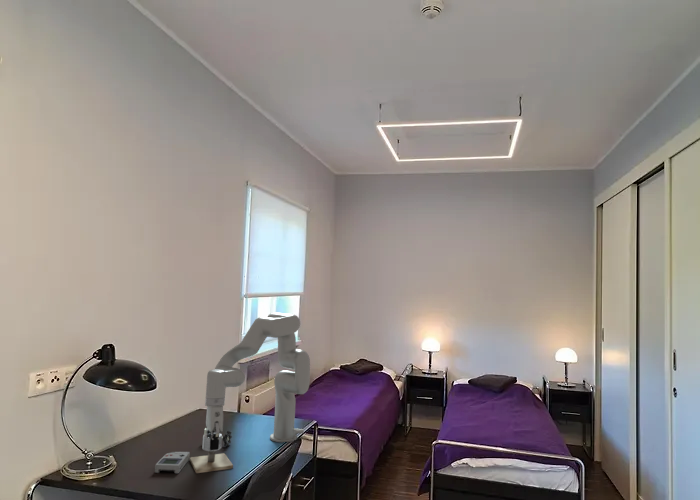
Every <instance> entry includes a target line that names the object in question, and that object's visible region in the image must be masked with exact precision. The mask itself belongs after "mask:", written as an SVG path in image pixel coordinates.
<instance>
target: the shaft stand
mask: <svg viewBox="0 0 700 500" xmlns="http://www.w3.org/2000/svg"><path fill="white" fill-rule="evenodd" d="M207 452H208V453H207V455H199V456H191V457H190V456H189V462H190V464H191V466H192V468H193V470H194V471H195V474H200V473H201V474H202V473H208V472H214V471H215V472H216V471H222V470H230V469H233V468H234V464H233V463H232V461H231V460H230V459H229V458H228V456H227V454H225V453H216V451H207Z"/></svg>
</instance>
